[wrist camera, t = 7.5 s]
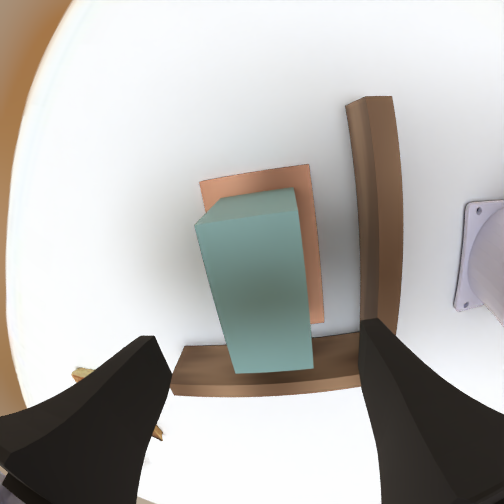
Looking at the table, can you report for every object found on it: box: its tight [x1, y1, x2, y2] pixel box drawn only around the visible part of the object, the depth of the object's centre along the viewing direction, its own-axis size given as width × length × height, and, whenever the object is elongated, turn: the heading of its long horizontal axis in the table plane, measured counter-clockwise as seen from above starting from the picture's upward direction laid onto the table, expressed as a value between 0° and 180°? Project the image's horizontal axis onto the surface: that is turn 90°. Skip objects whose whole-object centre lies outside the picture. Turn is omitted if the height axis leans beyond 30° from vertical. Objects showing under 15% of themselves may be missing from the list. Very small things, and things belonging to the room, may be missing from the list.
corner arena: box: [170, 96, 403, 397], centre depth 15 cm, size 14×16×4 cm
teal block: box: [194, 187, 314, 374], centre depth 15 cm, size 8×4×5 cm, turn 10°
